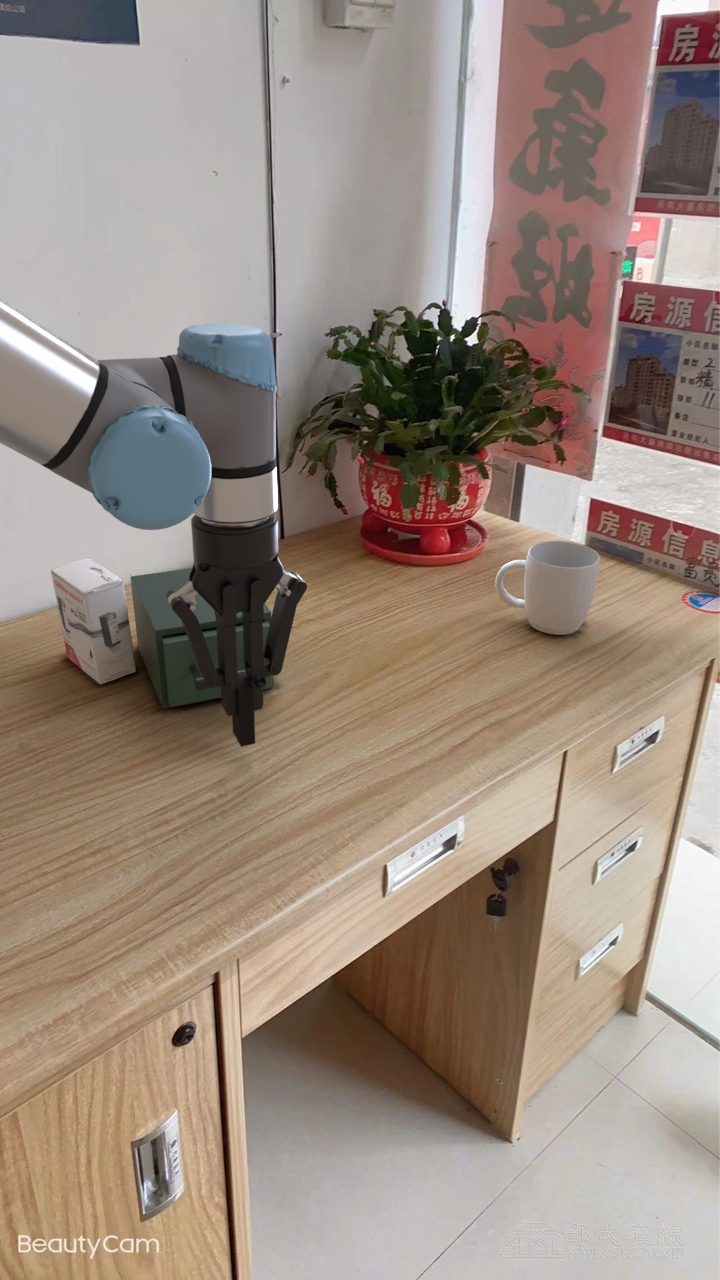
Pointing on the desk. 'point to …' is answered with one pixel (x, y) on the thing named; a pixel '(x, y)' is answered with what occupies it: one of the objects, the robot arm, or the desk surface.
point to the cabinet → (165, 620)
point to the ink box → (94, 619)
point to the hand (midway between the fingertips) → (243, 737)
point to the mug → (554, 585)
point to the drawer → (185, 672)
